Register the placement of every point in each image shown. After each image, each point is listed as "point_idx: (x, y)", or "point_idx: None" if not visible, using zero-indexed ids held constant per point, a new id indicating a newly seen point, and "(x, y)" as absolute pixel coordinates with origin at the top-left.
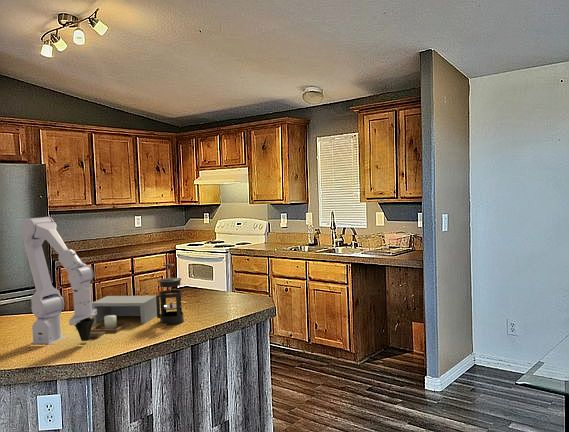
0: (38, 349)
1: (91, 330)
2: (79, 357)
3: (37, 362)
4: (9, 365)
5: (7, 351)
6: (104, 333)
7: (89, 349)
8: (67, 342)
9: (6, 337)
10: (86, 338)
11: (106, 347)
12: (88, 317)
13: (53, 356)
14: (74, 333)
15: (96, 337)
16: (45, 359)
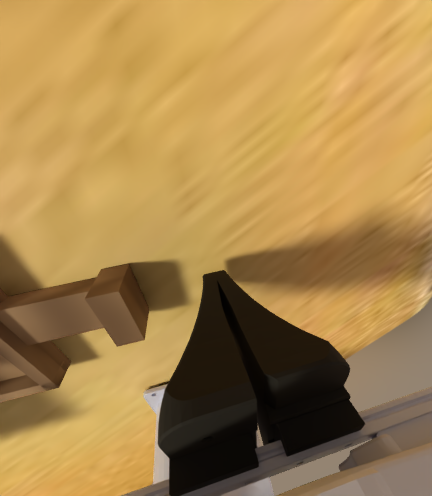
0: None
1: (50, 374)
2: (405, 154)
3: (403, 275)
4: (400, 318)
5: None
6: (21, 301)
7: (284, 194)
8: None
9: None
10: (229, 279)
11: (245, 95)
12: (211, 475)
13: (356, 274)
14: (92, 401)
15: (128, 279)
16: (381, 275)
